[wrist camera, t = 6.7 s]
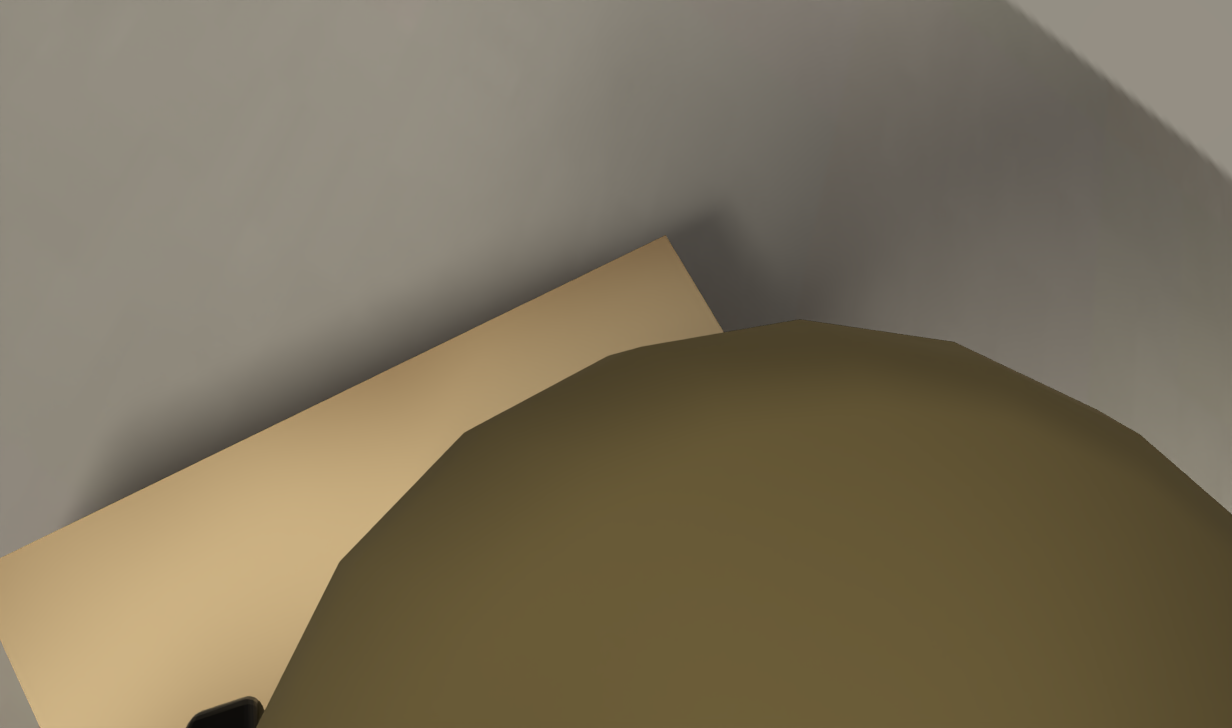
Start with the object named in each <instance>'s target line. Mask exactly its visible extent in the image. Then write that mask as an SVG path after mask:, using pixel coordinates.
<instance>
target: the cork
mask: <svg viewBox="0 0 1232 728" xmlns="http://www.w3.org/2000/svg"><path fill="white" fill-rule="evenodd" d="M256 728H1232V514H1231V513H1230V512H1228V511H1227V510H1226V509H1225V508H1224V507H1223V506H1222V505H1220V504H1219V503H1218V502H1217V501H1216V500H1215V499H1214V498H1212V497H1211V496H1210V495H1209V494H1208V493H1207V492H1205V491H1204V490H1203V489H1202V488H1201V487H1200V486H1199V485H1197V484H1196V483H1195V482H1194V481H1193V480H1192V479H1191V478H1189V477H1188V476H1187V475H1186V474H1185V473H1184V472H1182V471H1181V470H1180V469H1179V468H1178V467H1177V466H1176V465H1174V464H1173V463H1172V462H1171V461H1170V460H1169V459H1168V458H1166V457H1165V456H1164V455H1163V454H1162V453H1161V452H1159V451H1158V450H1157V449H1156V448H1155V447H1154V446H1153V445H1151V444H1150V443H1149V442H1148V441H1147V440H1146V439H1145V438H1143V437H1142V436H1141V435H1140V434H1138V433H1136V432H1135V431H1133V430H1131V429H1129V428H1128V427H1126V426H1124V425H1123V424H1121V423H1119V422H1117V421H1116V420H1114V419H1112V418H1110V417H1109V416H1107V415H1105V414H1104V413H1102V412H1100V411H1098V410H1097V409H1094V408H1092V407H1090V406H1088V405H1086V404H1084V403H1082V402H1080V401H1078V400H1075V399H1073V398H1071V397H1069V396H1067V395H1065V394H1063V393H1061V392H1059V391H1056V390H1054V389H1052V388H1050V387H1048V386H1046V385H1044V384H1042V383H1040V382H1037V381H1035V380H1033V379H1031V378H1029V377H1027V376H1025V375H1023V374H1021V373H1018V372H1016V371H1014V370H1012V369H1010V368H1008V367H1006V366H1004V365H1002V364H999V363H997V362H995V361H993V360H991V359H989V358H987V357H985V356H983V355H980V354H978V353H976V352H974V351H972V350H970V349H968V348H966V347H964V346H961V345H959V344H957V343H955V342H951V341H944V340H937V339H930V338H923V337H917V336H910V335H903V334H896V333H889V332H883V331H876V330H869V329H862V328H855V327H848V326H842V325H835V324H828V323H821V322H814V321H807V320H801V319H799V320H793V321H787V322H781V323H776V324H770V325H764V326H758V327H752V328H747V329H741V330H735V331H729V332H723V333H717V334H712V335H706V336H700V337H694V338H688V339H683V340H677V341H671V342H665V343H659V344H653V345H648V346H642V347H638V348H634V349H631V350H627V351H623V352H620V353H616V354H612V355H609V356H607V357H605V358H603V359H601V360H599V361H597V362H595V363H594V364H592V365H590V366H588V367H586V368H584V369H582V370H580V371H579V372H577V373H575V374H573V375H571V376H569V377H567V378H565V379H564V380H562V381H560V382H558V383H556V384H554V385H552V386H550V387H549V388H547V389H545V390H543V391H541V392H539V393H537V394H535V395H534V396H532V397H530V398H528V399H526V400H524V401H522V402H520V403H519V404H517V405H515V406H513V407H511V408H509V409H507V410H505V411H504V412H502V413H500V414H498V415H496V416H494V417H492V418H490V419H489V420H487V421H485V422H483V423H481V424H479V425H477V426H475V427H474V428H472V429H470V430H468V431H466V432H464V433H463V434H462V435H461V436H460V437H459V438H458V439H457V440H456V441H455V442H454V444H453V445H452V446H451V447H450V448H449V449H448V450H447V451H446V452H445V453H444V454H443V455H442V456H441V457H440V458H439V459H438V460H437V461H436V462H435V463H434V464H433V465H432V466H431V467H430V468H429V469H428V470H427V471H426V473H425V474H424V475H423V476H422V477H421V478H420V479H419V480H418V481H417V482H416V483H415V484H414V485H413V486H412V487H411V488H410V489H409V490H408V491H407V492H406V493H405V494H404V495H403V496H402V497H401V498H400V499H399V500H398V502H397V503H396V504H395V505H394V506H393V507H392V508H391V509H390V510H389V511H388V512H387V513H386V514H385V515H384V516H383V517H382V518H381V519H380V520H379V521H378V522H377V523H376V524H375V525H374V526H373V527H372V528H371V529H370V531H369V532H368V533H367V534H366V535H365V536H364V537H363V538H362V539H361V540H360V541H359V542H358V543H357V544H356V545H355V546H354V547H353V548H352V549H351V550H350V551H349V552H348V553H347V554H346V555H345V556H344V557H343V558H342V560H341V561H340V562H339V563H338V565H337V567H336V569H335V571H334V573H333V575H332V577H331V579H330V581H329V583H328V585H327V587H326V589H325V591H324V593H323V595H322V597H321V599H320V601H319V603H318V605H317V607H316V609H315V611H314V613H313V615H312V617H311V619H310V621H309V623H308V625H307V627H306V629H305V631H304V633H303V635H302V637H301V639H300V641H299V643H298V645H297V647H296V649H295V651H294V653H293V655H292V657H291V659H290V661H289V663H288V665H287V667H286V669H285V671H284V673H283V675H282V677H281V679H280V681H279V683H278V685H277V687H276V689H275V691H274V693H273V695H272V697H271V699H270V701H269V703H268V705H267V707H266V709H265V711H264V713H263V715H262V717H261V719H260V721H259V723H258V725H257V727H256Z"/></svg>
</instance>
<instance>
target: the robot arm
mask: <svg viewBox="0 0 1232 728" xmlns="http://www.w3.org/2000/svg"><path fill="white" fill-rule="evenodd" d="M264 711H265V710H264V708H263V705H262V704H261V702H260V701H259V700H258V699H257V698H255V697H252V696H246V697H242V698H239V699H236V700H233V701H230V702H227V703H224V704H221V705H218V706H215V707H212V708H209V709H206V710H202V711H200V712H198V713H197V714H195V715H194V716H193V717H192V719H191V720H190V721H189V723H188V724H187V726H186V728H256V727H257V725H258V723H259V721H260V719H261V717H262V715H263V713H264Z"/></svg>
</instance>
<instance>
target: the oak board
mask: <svg viewBox="0 0 1232 728" xmlns="http://www.w3.org/2000/svg"><path fill="white" fill-rule="evenodd" d="M717 333H723V330H722V328H721V327H720V325H719V323H718V322H717V320H716V318H715V317H714V315H713V313H712V312H711V310H710V308H709V307H708V305H707V303H706V302H705V300H704V298H703V297H702V295H701V293H700V292H699V290H698V288H697V287H696V285H695V283H694V282H693V280H692V278H691V277H690V275H689V273H688V272H687V270H686V268H685V267H684V265H683V263H682V262H681V260H680V258H679V257H678V255H677V253H676V252H675V250H674V248H673V247H672V245H671V243H670V242H669V240H668V238H667V237H666V235H665V236H663V237H661V238H659V239H656V240H654V241H652V242H650V243H648V244H646V245H644V246H642V247H640V248H638V249H636V250H634V251H632V252H630V253H628V254H626V255H623V256H621V257H619V258H617V259H615V260H613V261H611V262H609V263H607V264H605V265H603V266H601V267H599V268H597V269H595V270H593V271H591V272H588V273H586V274H584V275H582V276H580V277H578V278H576V279H574V280H572V281H570V282H568V283H566V284H564V285H562V286H560V287H558V288H556V289H553V290H551V291H549V292H547V293H545V294H543V295H541V296H539V297H537V298H535V299H533V300H531V301H529V302H527V303H525V304H523V305H521V306H518V307H516V308H514V309H512V310H510V311H508V312H506V313H504V314H502V315H500V316H498V317H496V318H494V319H492V320H490V321H488V322H485V323H483V324H481V325H479V326H477V327H475V328H473V329H471V330H469V331H467V332H465V333H463V334H461V335H459V336H457V337H455V338H453V339H450V340H448V341H446V342H444V343H442V344H440V345H438V346H436V347H434V348H432V349H430V350H428V351H426V352H424V353H422V354H420V355H418V356H415V357H413V358H411V359H409V360H407V361H405V362H403V363H401V364H399V365H397V366H395V367H393V368H391V369H389V370H387V371H385V372H383V373H380V374H378V375H376V376H374V377H372V378H370V379H368V380H366V381H364V382H362V383H360V384H358V385H356V386H354V387H352V388H350V389H347V390H345V391H343V392H341V393H339V394H337V395H335V396H333V397H331V398H329V399H327V400H325V401H323V402H321V403H319V404H317V405H315V406H312V407H310V408H308V409H306V410H304V411H302V412H300V413H298V414H296V415H294V416H292V417H290V418H288V419H286V420H284V421H282V422H280V423H277V424H275V425H273V426H271V427H269V428H267V429H265V430H263V431H261V432H259V433H257V434H255V435H253V436H251V437H249V438H247V439H245V440H242V441H240V442H238V443H236V444H234V445H232V446H230V447H228V448H226V449H224V450H222V451H220V452H218V453H216V454H214V455H212V456H209V457H207V458H205V459H203V460H201V461H199V462H197V463H195V464H193V465H191V466H189V467H187V468H185V469H183V470H181V471H179V472H177V473H174V474H172V475H170V476H168V477H166V478H164V479H162V480H160V481H158V482H156V483H154V484H152V485H150V486H148V487H146V488H144V489H142V490H139V491H137V492H135V493H133V494H131V495H129V496H127V497H125V498H123V499H121V500H119V501H117V502H115V503H113V504H111V505H109V506H107V507H104V508H102V509H100V510H98V511H96V512H94V513H92V514H90V515H88V516H86V517H84V518H82V519H80V520H78V521H76V522H74V523H71V524H69V525H67V526H65V527H63V528H61V529H59V530H57V531H55V532H53V533H51V534H49V535H47V536H45V537H43V538H41V539H39V540H36V541H34V542H32V543H30V544H28V545H26V546H24V547H22V548H20V549H18V550H16V551H14V552H12V553H10V554H8V555H6V556H4V557H1V558H0V640H1V642H2V645H3V647H4V649H5V651H6V653H7V656H8V658H9V660H10V662H11V664H12V667H13V669H14V671H15V673H16V675H17V677H18V680H19V682H20V684H21V686H22V688H23V691H24V693H25V695H26V697H27V699H28V702H29V704H30V706H31V708H32V710H33V713H34V715H35V717H36V719H37V721H38V724H39V726H40V728H186V726H187V724H188V723H189V721H190V720H191V719H192V717H193V716H194V715H195V714H197V713H198V712H200V711H202V710H206V709H209V708H212V707H215V706H218V705H221V704H224V703H227V702H230V701H233V700H236V699H239V698H242V697H246V696H252V697H255V698H257V699H258V700H259V701H260V702H261V704H262V705H263V708H264V710H265V709H266V707H267V705H268V703H269V701H270V699H271V697H272V695H273V693H274V691H275V689H276V687H277V685H278V683H279V681H280V679H281V677H282V675H283V673H284V671H285V669H286V667H287V665H288V663H289V661H290V659H291V657H292V655H293V653H294V651H295V649H296V647H297V645H298V643H299V641H300V639H301V637H302V635H303V633H304V631H305V629H306V627H307V625H308V623H309V621H310V619H311V617H312V615H313V613H314V611H315V609H316V607H317V605H318V603H319V601H320V599H321V597H322V595H323V593H324V591H325V589H326V587H327V585H328V583H329V581H330V579H331V577H332V575H333V573H334V571H335V569H336V567H337V565H338V563H339V562H340V561H341V560H342V558H343V557H344V556H345V555H346V554H347V553H348V552H349V551H350V550H351V549H352V548H353V547H354V546H355V545H356V544H357V543H358V542H359V541H360V540H361V539H362V538H363V537H364V536H365V535H366V534H367V533H368V532H369V531H370V529H371V528H372V527H373V526H374V525H375V524H376V523H377V522H378V521H379V520H380V519H381V518H382V517H383V516H384V515H385V514H386V513H387V512H388V511H389V510H390V509H391V508H392V507H393V506H394V505H395V504H396V503H397V502H398V500H399V499H400V498H401V497H402V496H403V495H404V494H405V493H406V492H407V491H408V490H409V489H410V488H411V487H412V486H413V485H414V484H415V483H416V482H417V481H418V480H419V479H420V478H421V477H422V476H423V475H424V474H425V473H426V471H427V470H428V469H429V468H430V467H431V466H432V465H433V464H434V463H435V462H436V461H437V460H438V459H439V458H440V457H441V456H442V455H443V454H444V453H445V452H446V451H447V450H448V449H449V448H450V447H451V446H452V445H453V444H454V442H455V441H456V440H457V439H458V438H459V437H460V436H461V435H462V434H463V433H464V432H466V431H468V430H470V429H472V428H474V427H475V426H477V425H479V424H481V423H483V422H485V421H487V420H489V419H490V418H492V417H494V416H496V415H498V414H500V413H502V412H504V411H505V410H507V409H509V408H511V407H513V406H515V405H517V404H519V403H520V402H522V401H524V400H526V399H528V398H530V397H532V396H534V395H535V394H537V393H539V392H541V391H543V390H545V389H547V388H549V387H550V386H552V385H554V384H556V383H558V382H560V381H562V380H564V379H565V378H567V377H569V376H571V375H573V374H575V373H577V372H579V371H580V370H582V369H584V368H586V367H588V366H590V365H592V364H594V363H595V362H597V361H599V360H601V359H603V358H605V357H607V356H609V355H612V354H616V353H620V352H623V351H627V350H631V349H634V348H638V347H642V346H648V345H653V344H659V343H665V342H671V341H677V340H683V339H688V338H694V337H700V336H706V335H712V334H717Z"/></svg>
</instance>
